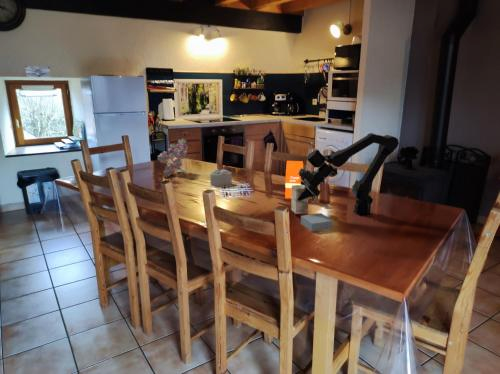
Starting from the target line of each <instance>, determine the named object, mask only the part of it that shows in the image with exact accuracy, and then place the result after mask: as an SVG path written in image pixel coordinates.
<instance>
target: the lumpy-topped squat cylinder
mask: <svg viewBox="0 0 500 374" xmlns="http://www.w3.org/2000/svg"><path fill="white" fill-rule="evenodd" d="M209 178H210V186H212V187H225V186H224V185H226V186H230V184H231V185H232V184H233V180H232V179H233V178H232V171H229V170H227V169H221V170H220V169H219V168H217V169H215V170H214V171H213V172H210V176H209Z"/></svg>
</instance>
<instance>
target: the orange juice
mask: <svg viewBox="0 0 500 374" xmlns="http://www.w3.org/2000/svg"><path fill="white" fill-rule="evenodd" d="M301 168H303V169H304V162H303V161H302V160H301V161H300V160H286V169H285V187H284V188H285V193H284V196H285V197H284V199H290V200H291V195H292V186H293V185H301V182H300V180H301V178H300V177H301V176H299V174H298V173H299V171H300V169H301ZM301 181H302V180H301Z"/></svg>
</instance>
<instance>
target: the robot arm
mask: <svg viewBox="0 0 500 374" xmlns="http://www.w3.org/2000/svg"><path fill="white" fill-rule="evenodd" d="M373 144H377V145H378V150H377V152H376V155H374V158H373V159H372V161H371V163H370V165H369V166H368V168H367V169H366V171H365V173H364V174H363V176H362V178H361V179H360V180H357V179H356V180H355V181H354V184H353V185H352V186H351V187H352V188H351V192H352V195H353V196H354V197H355V199H356V200H355V204H354V210H352V211H353V213H355V214H357V215H358V216H359V217H360V216H370V215H371V216H372V215H373V213H372V212H371V207H372V204H373V201H374V199H373V197H371V195H369V194H370V192H371V187H372V183H373V181H374V180H375V178H376V176H377V175H378V173H379V171H380V170H381V168H382V166H383V164H384V163H385V161H386V159H387V158H388V156H390V155H391V154H393V153H394V151H395V150H396V149H397V148H398V147H399V144H400V142H399V139H398V138H397V137H396V136H393V135H389V134H386V135H380V134H375V133H373V132H369V133H368V134H366V135H365V136H363V137H362V138H360V139H359V140H357V141H355V142H354V143H352V144H351V145H348V146H347V147H345V148H344V149H340V150H336V151H334V152H332V153H330V154H329V155H328V154H327V155H323V153H321V151H320V150H319V149H318V148H317V149H314V150H313V151H312V152H309V154H308V155H307V156H306V158H305V160H306V161H307V162H308V163H309V164H310V165H311V166H312V167H313V168H314V169H316V168H317V170H312V171H311V170H308V169H305V168H304V167H303V168H301V169H300V171H299V173H298V174H299V176H301V177H300V178H301V180H302V181H301V180H300V182H301V185H305V190H304V191H303V193H302V194H301V195H300V196H299V198H298V200H299V201H300V200H303V199H306V198H308V199H310V197H312V196H315V195H316V196H318V195H319V196H320V195H321V192H320V191H321V190H320V189H319V186H320V185H321V184H322V183H323V184H325V180H326V179H327V178H328V177H329V176H330V175H332V173H333V174H334V175H337V174H338V172H337V171H338V168H340V167H342V166H344V164H346V163H347V162H348V161H349V160H350V158H352V157H353V156H354V155H356V154H358V153H359V152H361V151H363V150H365V149H366V148H367V147H369V146H371V145H373ZM319 196H318V197H319Z"/></svg>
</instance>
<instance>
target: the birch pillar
mask: <svg viewBox="0 0 500 374" xmlns="http://www.w3.org/2000/svg"><path fill="white" fill-rule="evenodd" d="M304 190H305V185H293V186H292V195H291V199H290V202H291V203H290V204H291V205H290V208H291V209H290V210H291V211H292V212H293V213H294V214H296V215H297V214H305V213H309V201H308V199H309V198H306V199H303V200H300V201H299V200H298V198H299V196H300V195H301V194H302V193H303V191H304Z"/></svg>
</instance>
